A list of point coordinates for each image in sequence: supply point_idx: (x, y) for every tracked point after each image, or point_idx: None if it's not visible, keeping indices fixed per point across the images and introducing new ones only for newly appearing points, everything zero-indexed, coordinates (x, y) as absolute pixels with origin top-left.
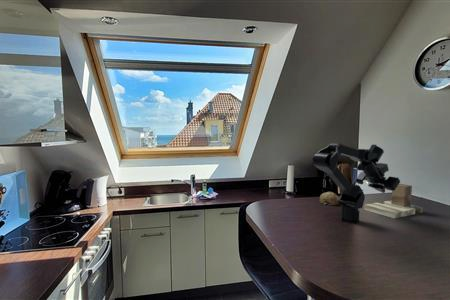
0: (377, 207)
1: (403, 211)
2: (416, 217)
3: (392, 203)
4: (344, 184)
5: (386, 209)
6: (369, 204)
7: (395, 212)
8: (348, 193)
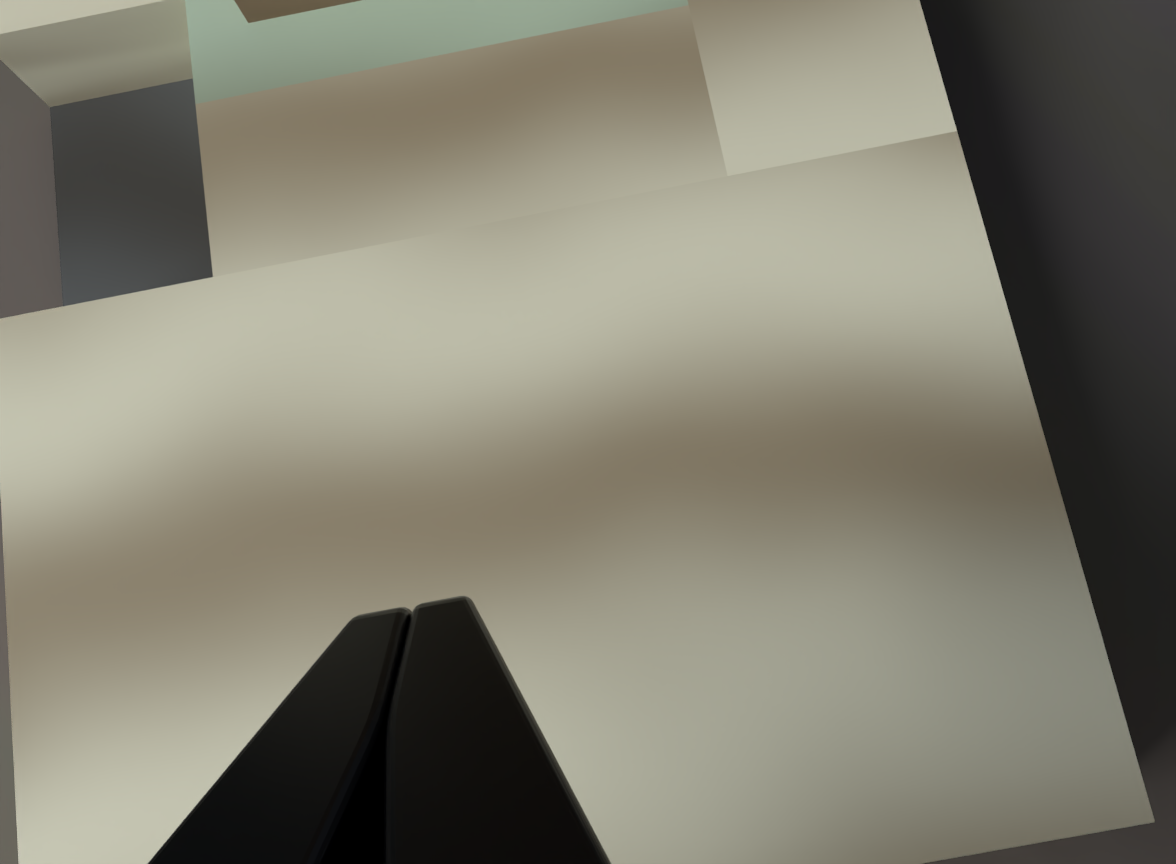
0: None
1: (1010, 335)
2: (1088, 103)
3: (277, 2)
4: None
5: (737, 729)
6: (72, 801)
7: (1105, 728)
8: None
